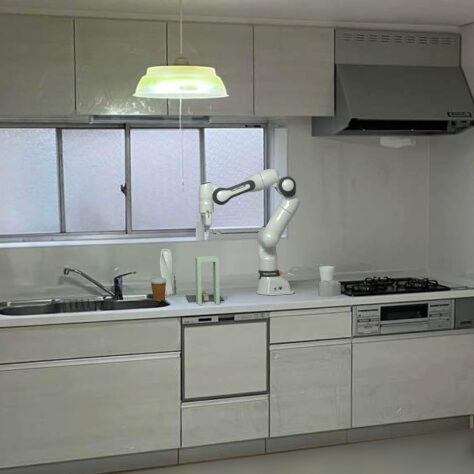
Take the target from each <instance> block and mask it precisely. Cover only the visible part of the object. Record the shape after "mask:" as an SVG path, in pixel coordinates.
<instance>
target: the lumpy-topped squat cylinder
mask: <svg viewBox="0 0 474 474" xmlns="http://www.w3.org/2000/svg"><path fill="white" fill-rule="evenodd" d="M341 286H342V285H341V282H339V281H338V280H334V279H333V280H329V281H327V280H323V281H322V282H321V281H320V282H319V283H318V296H319V297H327V298H329V297H338V296H341V294H342V292H341V291H342V287H341Z"/></svg>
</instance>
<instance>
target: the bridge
mask: <svg viewBox="0 0 474 474" xmlns="http://www.w3.org/2000/svg"><path fill="white" fill-rule="evenodd" d="M194 261H195V262H194V263H195V265H194V266H195V295H196V302H195V303H196V304H198V305H197V306H200V305H201V306H202V304H203V302H202V291H203V290H202V263H211V262H212V263H213V264H212V271H213V272H212V274H213V275H212V276H213V277H212V278H213V280H212V281H213V294H214V301H213V303H214V304H215V305H216V306H217V305H218V306H219V305H220V304H221V301H220V296H221V294H220V292H221V291H220V258H219V257H218V255H209V256H208V255H203V256H202V255H201V256H199V255H198V256H195V259H194Z"/></svg>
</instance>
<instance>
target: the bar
mask: <svg viewBox="0 0 474 474" xmlns="http://www.w3.org/2000/svg"><path fill="white" fill-rule="evenodd" d="M201 291H202V298H203V299H204V300H209V296H208V293H206V291H205V290H201Z"/></svg>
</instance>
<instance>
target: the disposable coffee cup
mask: <svg viewBox="0 0 474 474" xmlns="http://www.w3.org/2000/svg"><path fill="white" fill-rule="evenodd" d="M149 282H150V285H151V291H152V298H153V299H152V300H153V301H164V300H165V299H166V298H165V297H166V295H165V289H166V282H167V281H166V279H165V278H162V277H156V278H151V279H150V281H149Z"/></svg>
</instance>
